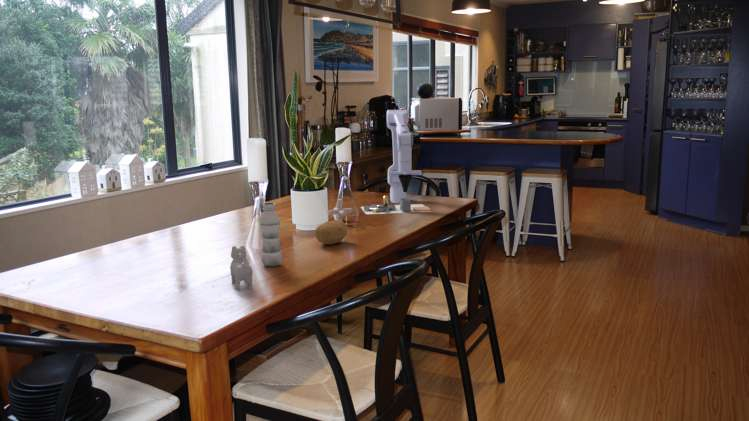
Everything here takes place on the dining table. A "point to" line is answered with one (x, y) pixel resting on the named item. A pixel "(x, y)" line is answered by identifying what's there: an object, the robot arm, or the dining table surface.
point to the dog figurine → (240, 267)
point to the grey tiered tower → (270, 236)
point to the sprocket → (380, 207)
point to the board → (413, 209)
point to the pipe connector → (339, 210)
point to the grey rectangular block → (405, 205)
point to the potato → (331, 232)
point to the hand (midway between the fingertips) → (405, 191)
